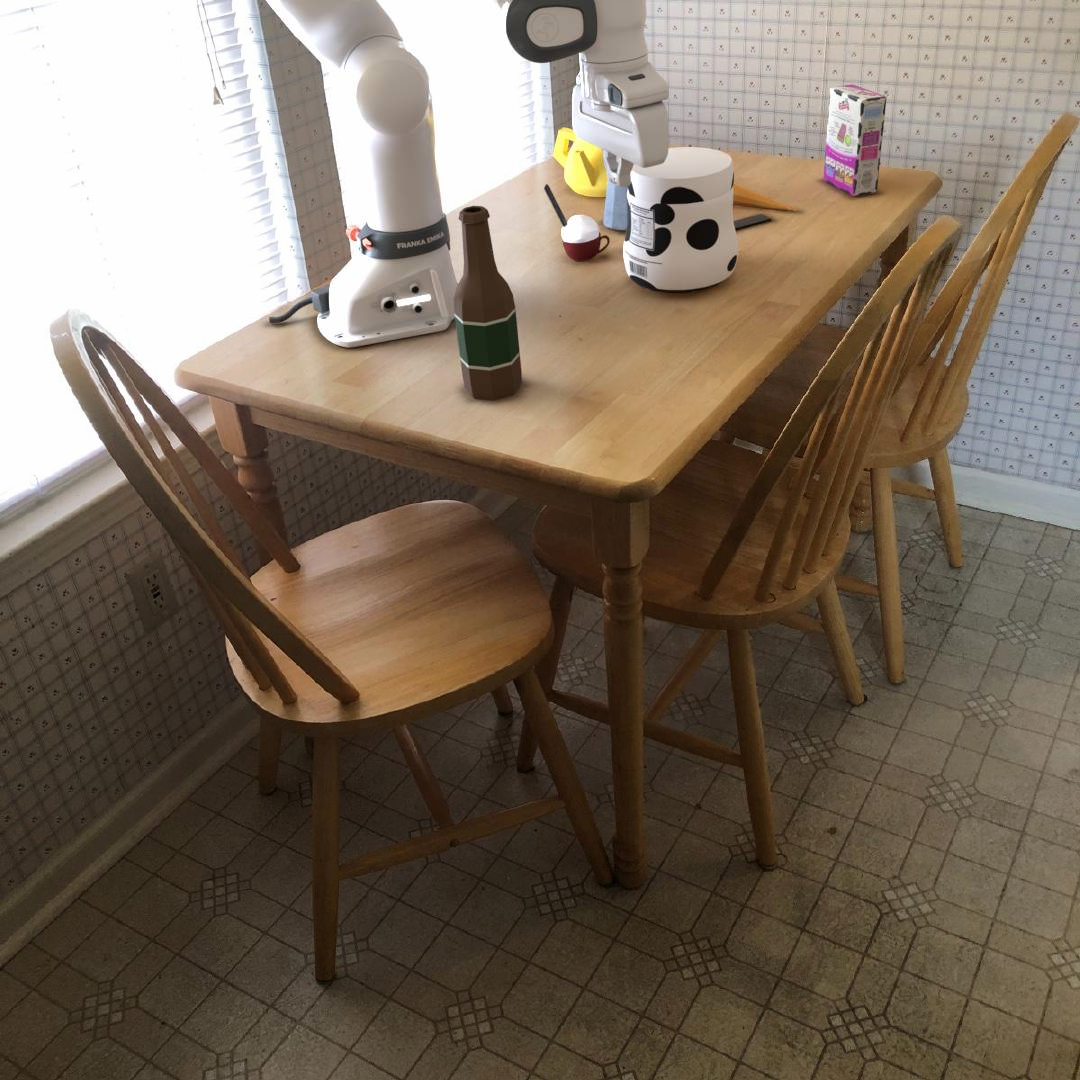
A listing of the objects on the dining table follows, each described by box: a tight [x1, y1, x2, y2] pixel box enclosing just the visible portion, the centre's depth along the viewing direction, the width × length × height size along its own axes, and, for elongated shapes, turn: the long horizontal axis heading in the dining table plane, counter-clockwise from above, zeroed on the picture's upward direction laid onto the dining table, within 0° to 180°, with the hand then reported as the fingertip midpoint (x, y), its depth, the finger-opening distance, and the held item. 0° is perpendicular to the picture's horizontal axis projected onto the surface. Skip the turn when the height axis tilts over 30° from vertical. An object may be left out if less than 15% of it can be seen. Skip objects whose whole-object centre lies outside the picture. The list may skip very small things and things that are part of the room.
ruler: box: [733, 213, 772, 231], centre depth 187 cm, size 26×3×1 cm, turn 116°
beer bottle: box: [454, 205, 523, 402], centre depth 141 cm, size 8×8×24 cm
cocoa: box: [543, 183, 611, 262], centre depth 180 cm, size 10×6×12 cm, turn 55°
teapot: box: [552, 126, 608, 198], centre depth 209 cm, size 17×17×12 cm
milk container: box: [622, 146, 739, 294], centre depth 167 cm, size 17×17×18 cm
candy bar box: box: [822, 84, 888, 197], centre depth 196 cm, size 11×5×16 cm, turn 17°
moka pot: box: [602, 149, 628, 231], centre depth 188 cm, size 10×15×20 cm, turn 174°
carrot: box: [733, 183, 798, 211], centre depth 197 cm, size 20×4×4 cm, turn 54°
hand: (620, 184), depth 154 cm, fingers closed
